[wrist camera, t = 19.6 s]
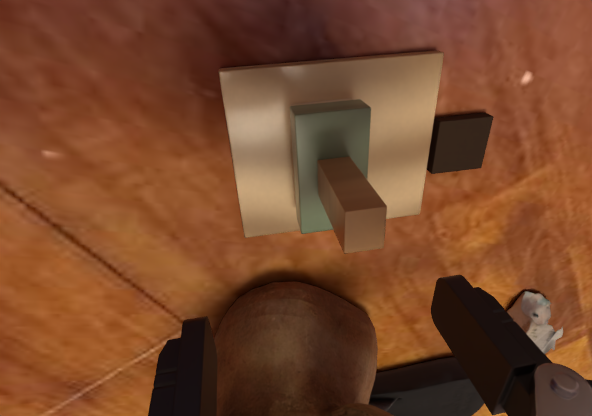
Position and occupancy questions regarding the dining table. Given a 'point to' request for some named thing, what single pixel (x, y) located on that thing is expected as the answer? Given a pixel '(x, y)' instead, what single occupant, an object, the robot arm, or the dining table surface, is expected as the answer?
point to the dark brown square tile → (458, 142)
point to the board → (320, 87)
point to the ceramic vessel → (295, 355)
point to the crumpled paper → (535, 319)
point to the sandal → (426, 390)
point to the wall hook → (336, 173)
